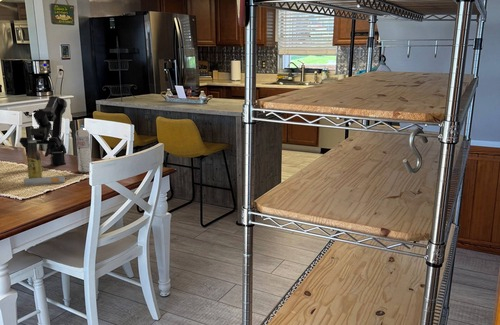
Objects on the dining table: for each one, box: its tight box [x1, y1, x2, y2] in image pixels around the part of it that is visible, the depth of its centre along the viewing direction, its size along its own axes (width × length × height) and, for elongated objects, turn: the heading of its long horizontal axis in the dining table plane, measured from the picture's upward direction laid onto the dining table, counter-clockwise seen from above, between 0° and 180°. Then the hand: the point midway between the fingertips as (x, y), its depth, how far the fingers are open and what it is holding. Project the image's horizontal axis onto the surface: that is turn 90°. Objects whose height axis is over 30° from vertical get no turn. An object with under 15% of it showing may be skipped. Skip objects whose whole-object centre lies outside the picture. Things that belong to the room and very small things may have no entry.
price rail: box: [23, 175, 66, 186], centre depth 215 cm, size 18×1×3 cm, turn 108°
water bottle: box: [75, 124, 92, 173], centre depth 236 cm, size 7×7×25 cm
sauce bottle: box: [26, 141, 43, 178], centre depth 218 cm, size 6×6×20 cm
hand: (36, 156), depth 220 cm, fingers open, 9 cm apart
